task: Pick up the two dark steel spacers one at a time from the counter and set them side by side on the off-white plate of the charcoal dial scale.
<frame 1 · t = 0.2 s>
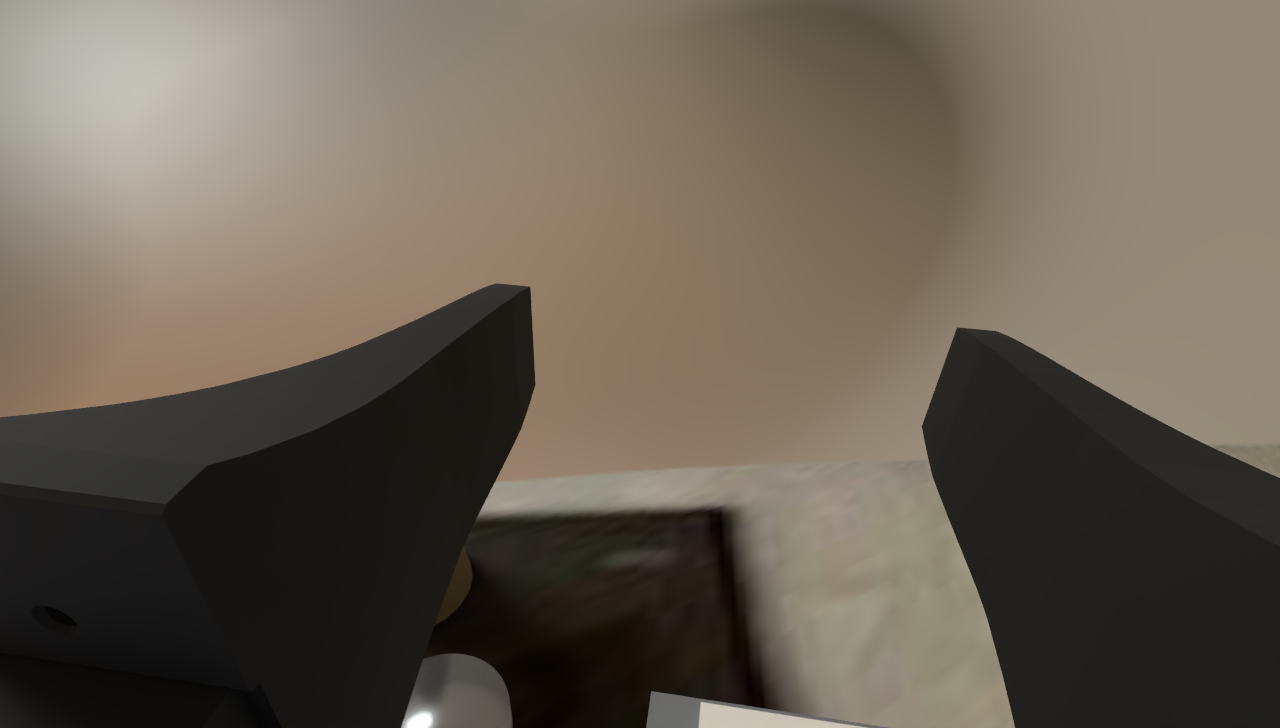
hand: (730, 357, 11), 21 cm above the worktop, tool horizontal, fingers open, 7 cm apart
cork: (413, 587, 33), on the worktop
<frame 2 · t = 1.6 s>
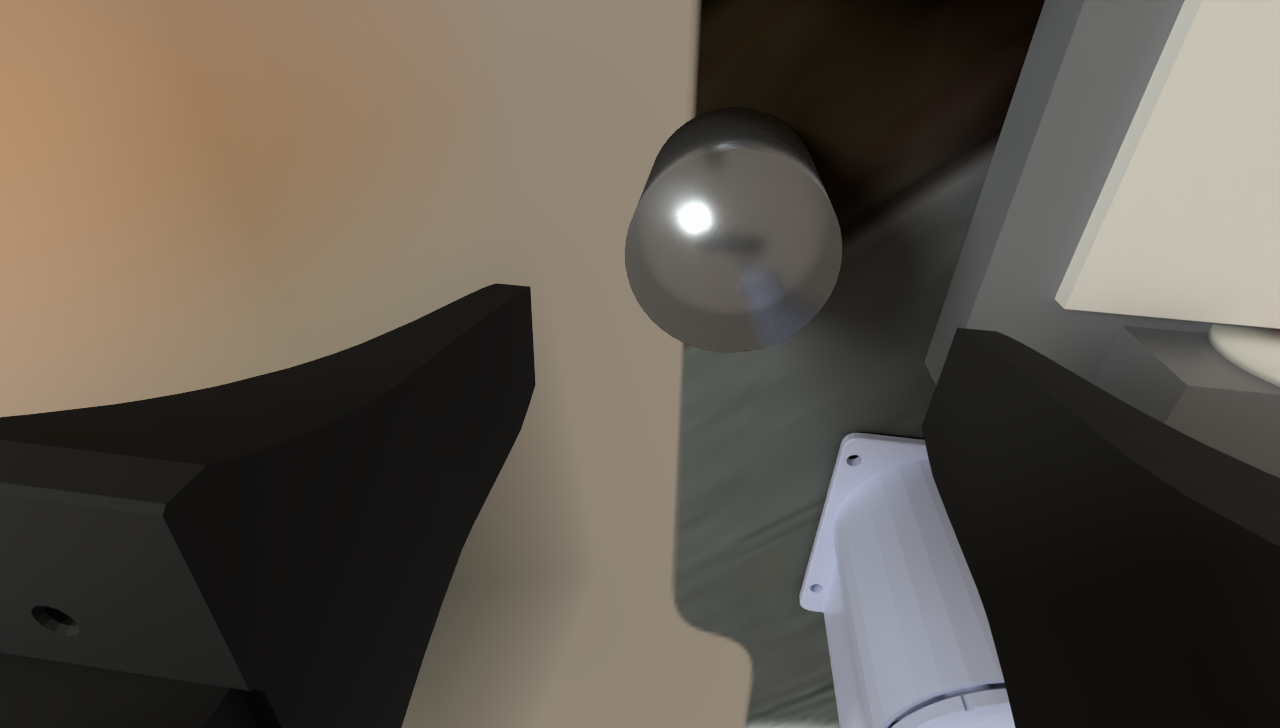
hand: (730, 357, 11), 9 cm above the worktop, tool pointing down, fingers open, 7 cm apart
steel spacer A: (731, 195, 19), on the worktop
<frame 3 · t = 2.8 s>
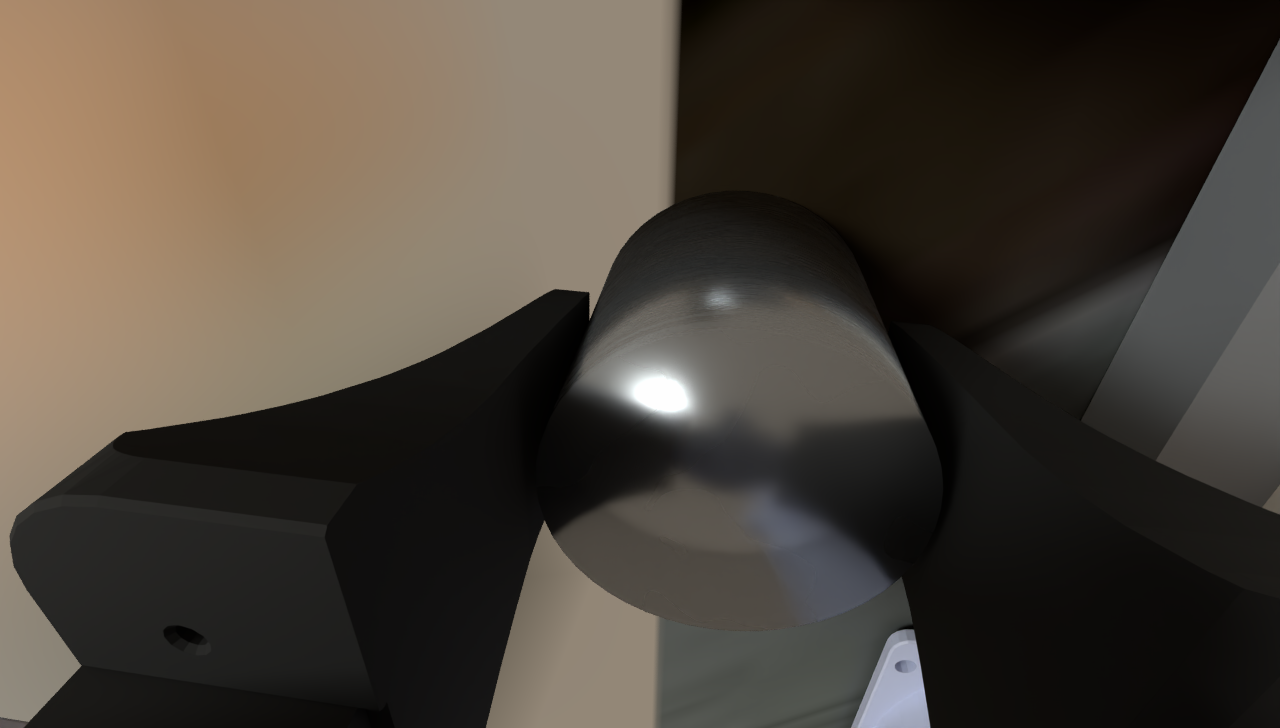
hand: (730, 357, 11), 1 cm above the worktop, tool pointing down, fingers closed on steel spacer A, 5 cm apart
steel spacer A: (730, 319, 12), on the worktop, touching gripper
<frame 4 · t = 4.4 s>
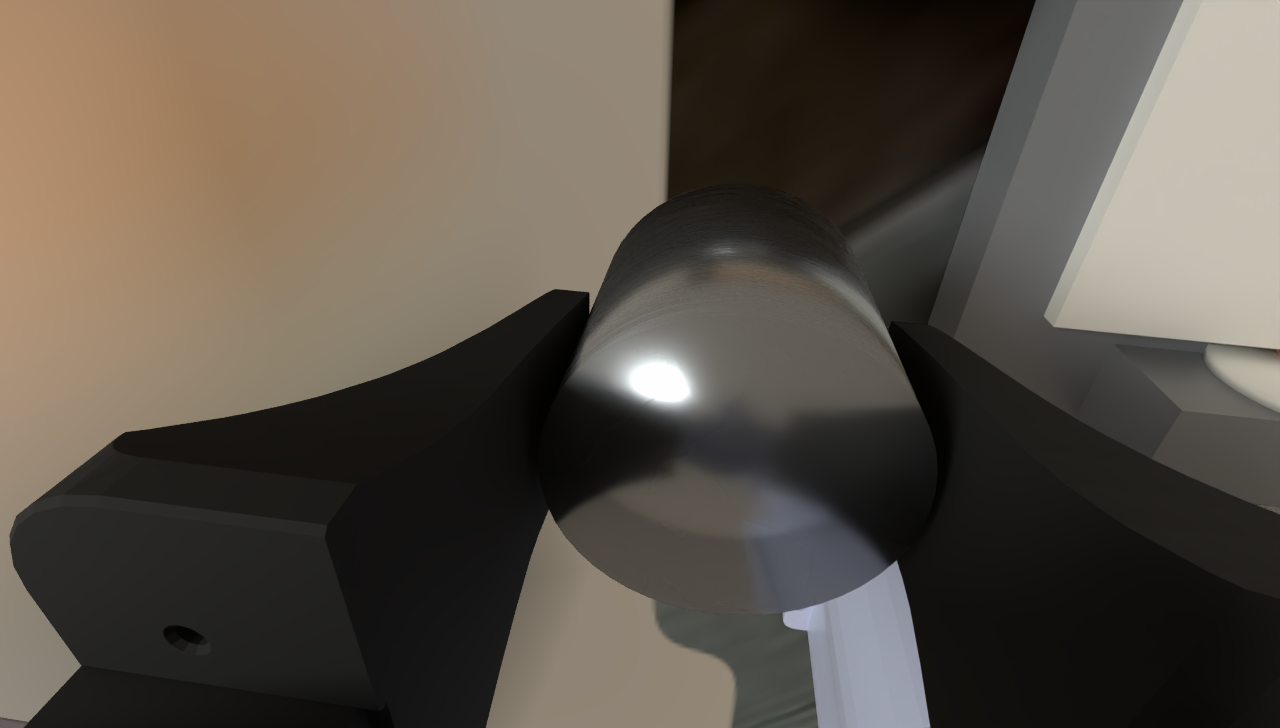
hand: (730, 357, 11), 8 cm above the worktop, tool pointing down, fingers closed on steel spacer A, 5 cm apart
steel spacer A: (729, 311, 12), point 7 cm above the worktop, touching gripper
when the fingers open (5 cm above the worktop, at t = 6.3 s): steel spacer A stays where it is, resting on kitchen scale.
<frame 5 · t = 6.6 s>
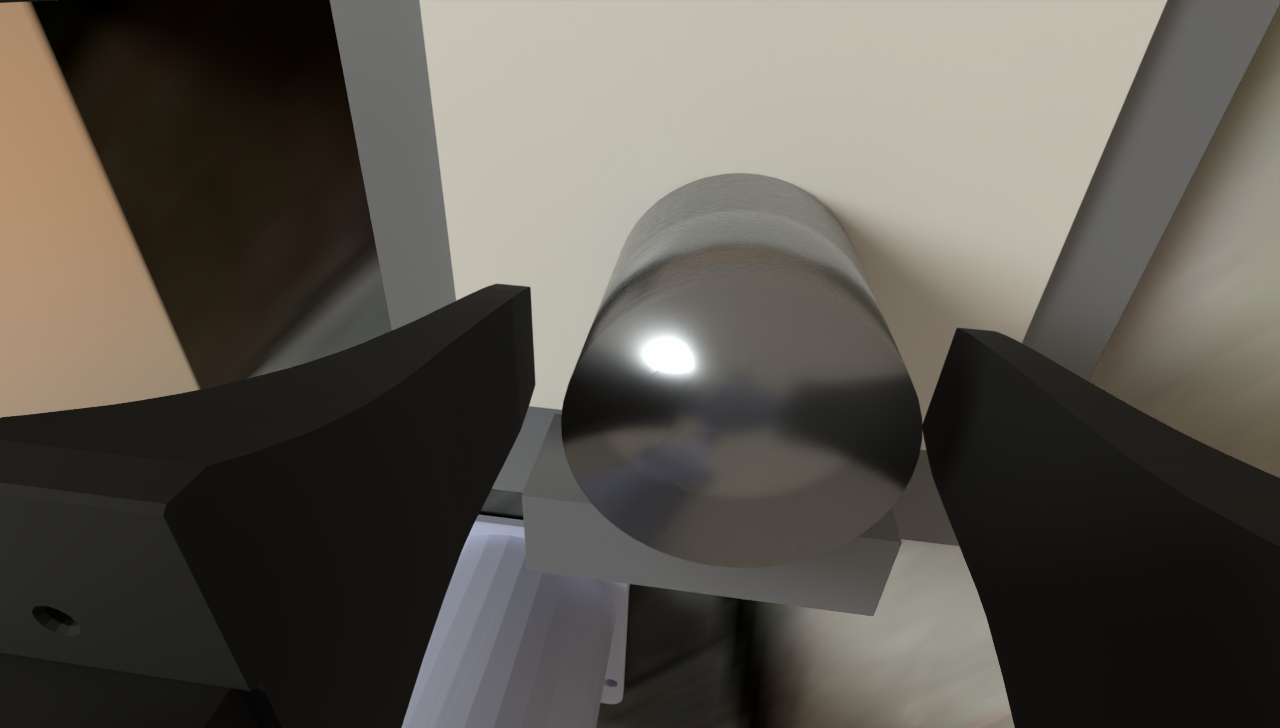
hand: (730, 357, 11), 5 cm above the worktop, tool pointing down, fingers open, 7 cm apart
steel spacer A: (733, 294, 13), point 3 cm above the worktop, touching kitchen scale
kitchen scale: (741, 163, 14), on the worktop
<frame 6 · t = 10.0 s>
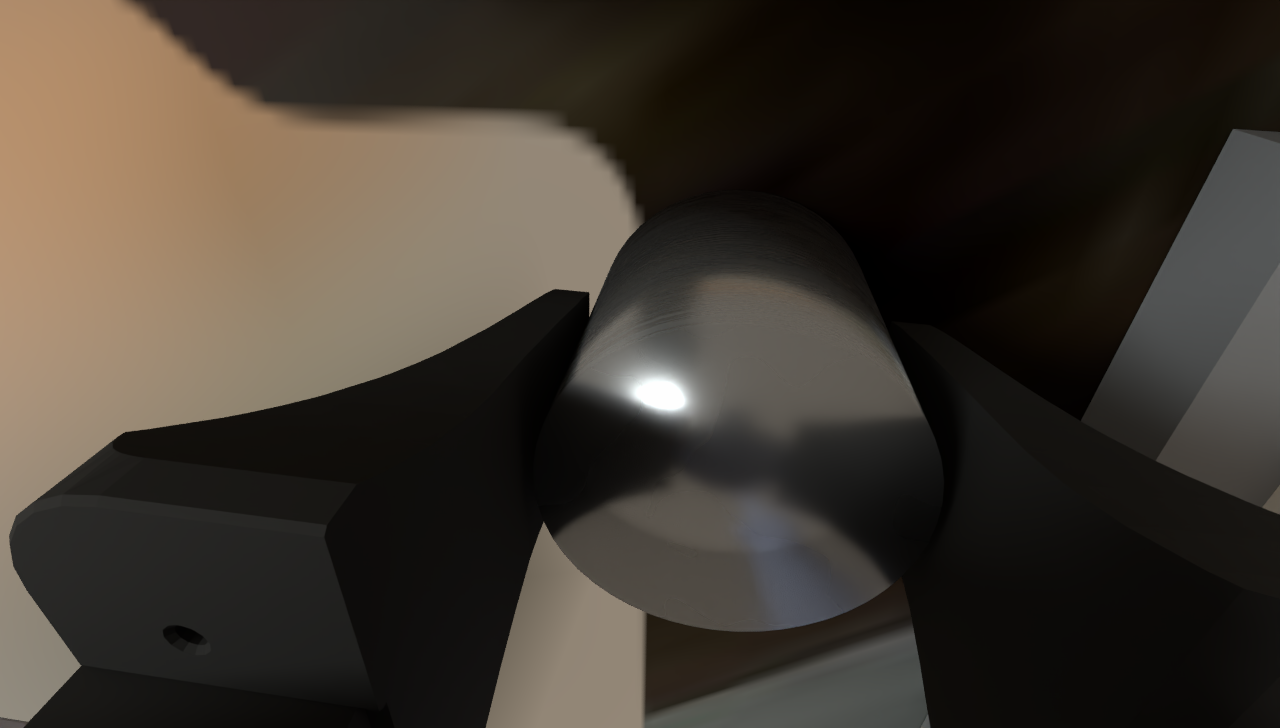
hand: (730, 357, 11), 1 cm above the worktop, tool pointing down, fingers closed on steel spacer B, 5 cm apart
steel spacer B: (730, 319, 12), on the worktop, touching gripper
when the fingers open (5 cm above the worktop, at t = 13.3 s): steel spacer B moves 1 cm, resting on kitchen scale.
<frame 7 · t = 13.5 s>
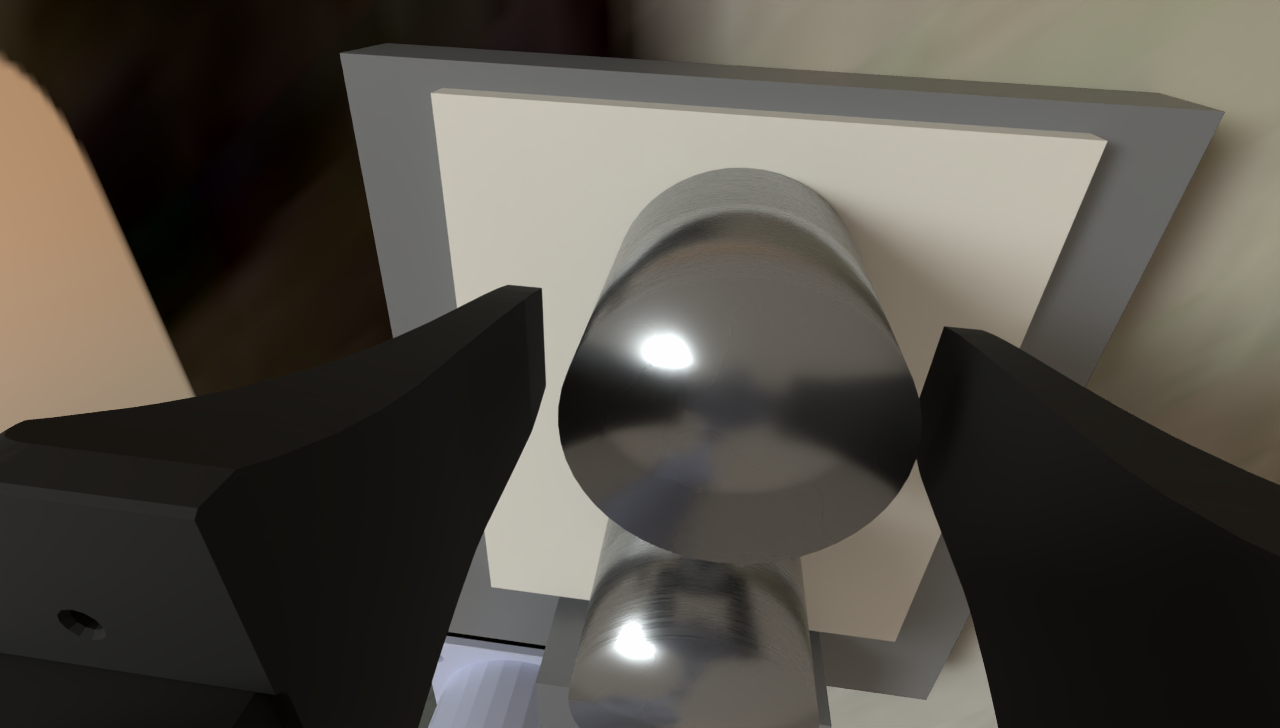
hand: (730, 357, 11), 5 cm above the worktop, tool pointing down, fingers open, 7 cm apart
steel spacer A: (701, 531, 17), point 3 cm above the worktop, touching kitchen scale
kitchen scale: (709, 412, 18), on the worktop
steel spacer B: (733, 289, 13), point 3 cm above the worktop, touching kitchen scale
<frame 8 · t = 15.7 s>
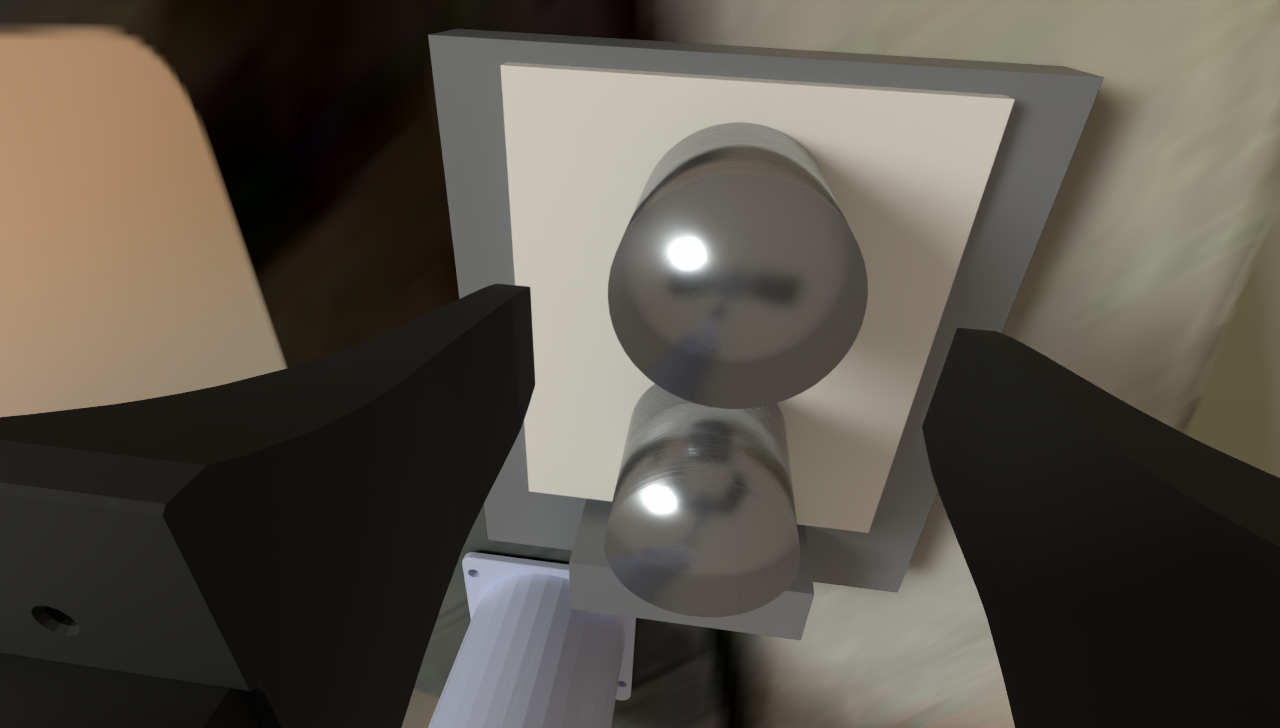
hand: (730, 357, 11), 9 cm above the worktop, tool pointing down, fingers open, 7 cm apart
steel spacer A: (706, 434, 20), point 3 cm above the worktop, touching kitchen scale
kitchen scale: (713, 340, 22), on the worktop
steel spacer B: (733, 222, 17), point 3 cm above the worktop, touching kitchen scale
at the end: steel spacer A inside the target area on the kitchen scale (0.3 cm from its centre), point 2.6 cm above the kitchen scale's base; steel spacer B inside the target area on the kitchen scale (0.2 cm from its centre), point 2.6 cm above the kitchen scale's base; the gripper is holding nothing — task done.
